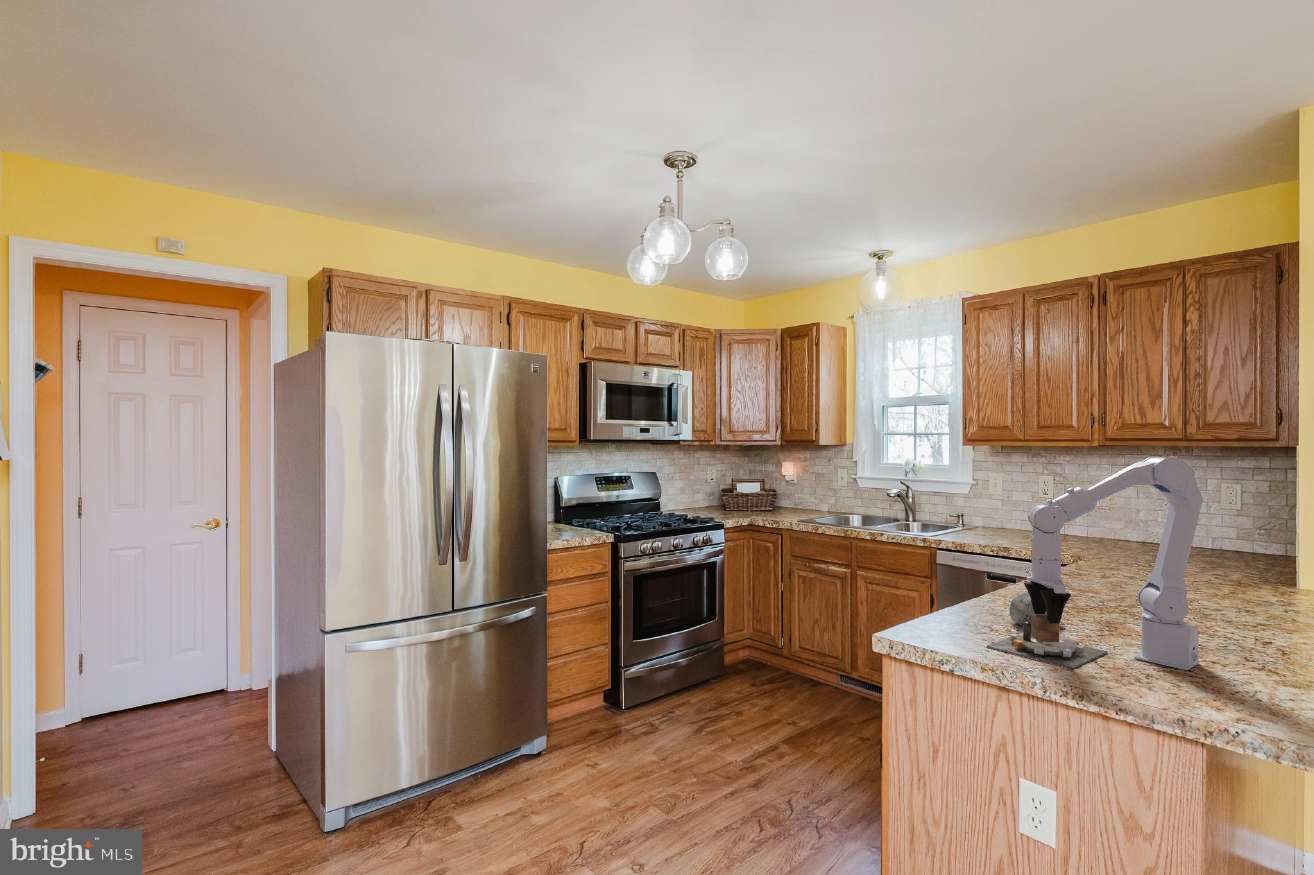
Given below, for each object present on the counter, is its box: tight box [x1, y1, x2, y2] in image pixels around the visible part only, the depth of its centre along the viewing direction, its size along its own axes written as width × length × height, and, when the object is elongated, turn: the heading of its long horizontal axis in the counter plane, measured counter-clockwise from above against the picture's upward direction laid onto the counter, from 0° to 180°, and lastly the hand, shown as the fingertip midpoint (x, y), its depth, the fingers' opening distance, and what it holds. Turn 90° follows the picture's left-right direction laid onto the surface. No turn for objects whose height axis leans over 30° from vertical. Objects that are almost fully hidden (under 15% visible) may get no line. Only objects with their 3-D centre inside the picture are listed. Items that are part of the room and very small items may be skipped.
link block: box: [1031, 614, 1060, 642], centre depth 150 cm, size 4×4×5 cm
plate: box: [986, 636, 1109, 670], centre depth 150 cm, size 18×18×1 cm
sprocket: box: [1010, 622, 1085, 657], centre depth 150 cm, size 14×14×6 cm
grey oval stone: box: [1009, 591, 1047, 627], centre depth 172 cm, size 14×10×10 cm
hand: (1046, 618), depth 150 cm, fingers open, 7 cm apart
